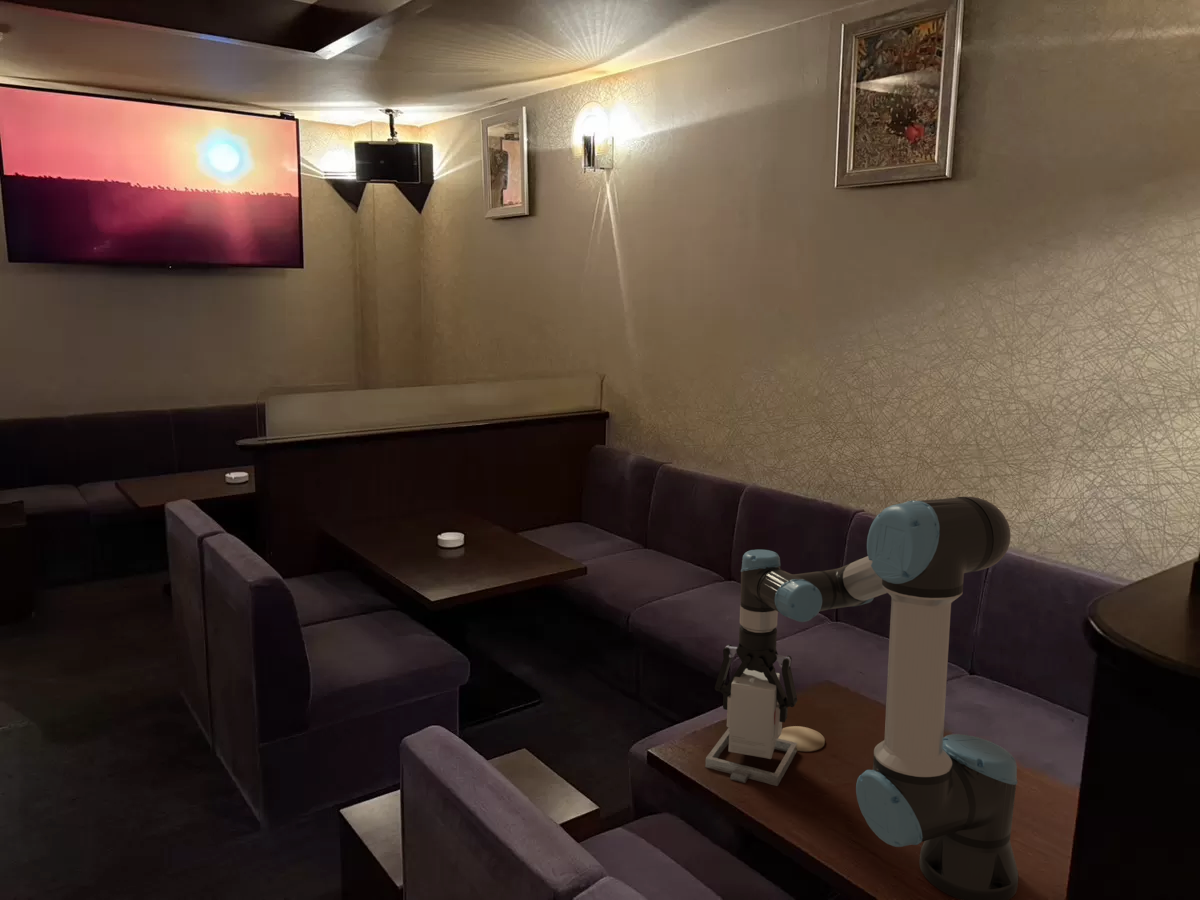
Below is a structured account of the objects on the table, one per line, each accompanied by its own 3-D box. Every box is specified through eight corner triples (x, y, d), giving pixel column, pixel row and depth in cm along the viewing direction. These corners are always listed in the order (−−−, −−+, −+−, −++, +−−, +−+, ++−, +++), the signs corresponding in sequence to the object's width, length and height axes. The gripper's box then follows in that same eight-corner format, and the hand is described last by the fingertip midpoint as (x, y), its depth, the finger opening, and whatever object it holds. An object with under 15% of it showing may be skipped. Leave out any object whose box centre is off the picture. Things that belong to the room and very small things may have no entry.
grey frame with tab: (774, 791, 170) (775, 781, 170) (701, 771, 177) (702, 762, 177) (799, 747, 187) (799, 738, 187) (731, 731, 194) (732, 722, 193)
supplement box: (771, 760, 176) (775, 690, 173) (727, 752, 179) (730, 683, 176) (778, 739, 184) (781, 672, 182) (735, 732, 187) (738, 666, 185)
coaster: (818, 755, 184) (818, 753, 184) (771, 744, 188) (772, 742, 188) (829, 735, 193) (829, 732, 193) (784, 724, 197) (784, 722, 197)
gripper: (817, 629, 176) (811, 734, 179) (712, 611, 185) (709, 710, 189) (808, 642, 169) (802, 750, 173) (700, 622, 179) (697, 725, 182)
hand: (753, 729), depth 181 cm, fingers closed on supplement box, 9 cm apart
